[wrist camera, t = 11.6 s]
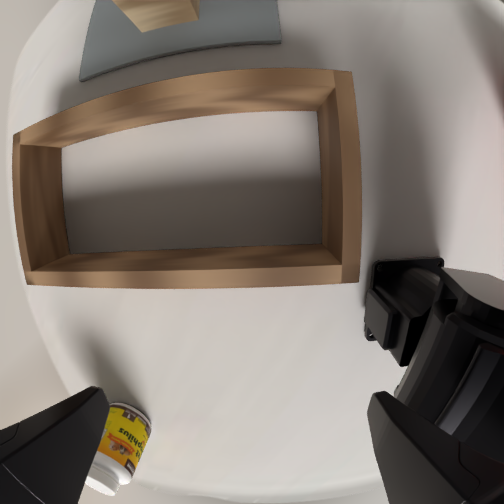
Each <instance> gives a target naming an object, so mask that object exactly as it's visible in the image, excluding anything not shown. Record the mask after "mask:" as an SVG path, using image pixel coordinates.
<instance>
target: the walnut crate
mask: <svg viewBox="0 0 504 504" xmlns="http://www.w3.org/2000/svg"><path fill="white" fill-rule="evenodd" d="M262 111H317V117H318V130H319V145H320V163H321V188H322V244H303V245H274V246H247V247H221V248H196V249H172V250H148V251H126V252H104V253H82V254H70V252H69V246H68V239H67V232H66V224H65V216H64V205H63V193H62V173H61V148H62V147H65V146H68V145H71V144H74V143H78V142H81V141H84V140H88V139H91V138H95V137H98V136H102V135H106V134H110V133H113V132H118V131H122V130H126V129H130V128H135V127H140V126H145V125H150V124H155V123H160V122H166V121H172V120H179V119H185V118H193V117H200V116H209V115H218V114H229V113H243V112H262ZM12 180H13V200H14V212H15V222H16V230H17V237H18V243H19V249H20V255H21V260H22V265H23V270H24V274H25V279H26V283H27V285H43V286H63V287H89V288H133V289H207V288H253V287H282V286H305V285H324V284H342V283H357V282H359V275H360V259H361V235H362V180H361V156H360V141H359V128H358V117H357V108H356V100H355V92H354V84H353V78H352V72H349V71H339V70H327V69H310V68H259V69H241V70H229V71H219V72H211V73H203V74H196V75H190V76H184V77H178V78H173V79H167V80H163V81H158V82H153V83H149V84H145V85H141V86H137V87H133V88H129V89H126V90H122V91H119V92H115V93H112V94H109V95H106V96H102V97H99V98H96V99H94V100H91V101H88V102H85V103H82V104H80V105H77V106H74V107H72V108H69V109H67V110H64V111H62V112H60V113H57V114H55V115H53V116H50V117H48V118H46V119H44V120H42V121H40V122H38V123H35V124H33V125H31V126H29V127H27V128H26V129H24V130H22V131H20V132H18V133H16V134H14V135H13V153H12Z"/></svg>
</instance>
